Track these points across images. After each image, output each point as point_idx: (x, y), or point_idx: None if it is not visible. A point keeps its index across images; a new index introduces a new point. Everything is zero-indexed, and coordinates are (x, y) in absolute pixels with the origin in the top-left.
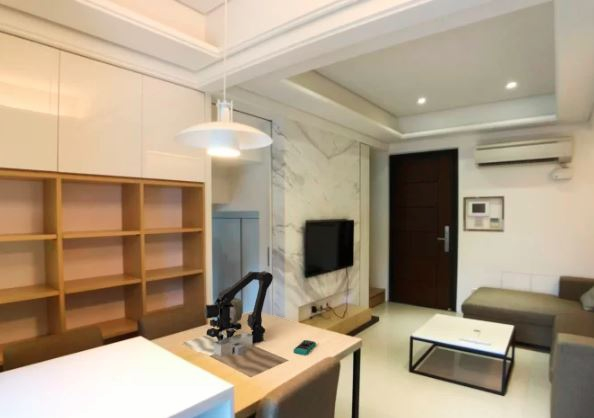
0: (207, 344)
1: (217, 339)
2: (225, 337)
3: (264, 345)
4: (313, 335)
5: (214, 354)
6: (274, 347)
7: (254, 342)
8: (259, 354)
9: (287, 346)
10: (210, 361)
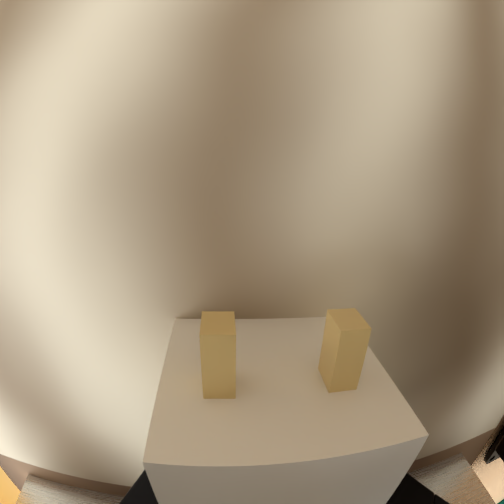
0: (60, 81)
1: (150, 441)
2: (389, 495)
3: (492, 466)
4: None
5: (31, 489)
6: None
7: (500, 456)
8: None
9: (495, 495)
10: None
